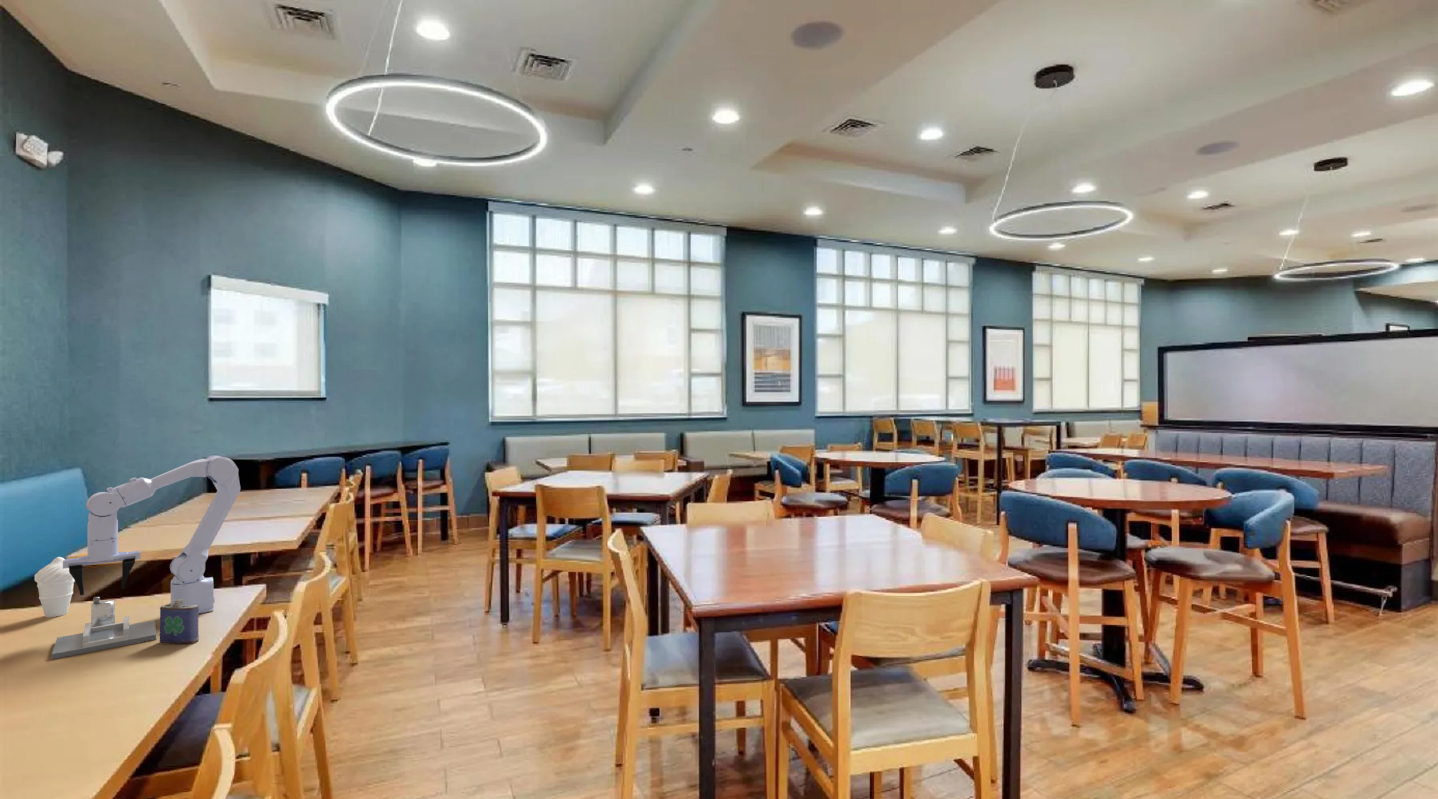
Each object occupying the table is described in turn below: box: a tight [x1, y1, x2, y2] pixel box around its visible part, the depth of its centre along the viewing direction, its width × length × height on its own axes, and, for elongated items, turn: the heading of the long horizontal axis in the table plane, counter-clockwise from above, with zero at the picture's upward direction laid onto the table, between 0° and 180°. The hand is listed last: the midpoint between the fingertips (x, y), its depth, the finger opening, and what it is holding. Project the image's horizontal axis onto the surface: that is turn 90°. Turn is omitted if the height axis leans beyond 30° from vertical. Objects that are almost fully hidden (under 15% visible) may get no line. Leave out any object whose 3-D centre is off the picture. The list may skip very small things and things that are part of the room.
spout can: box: [90, 596, 116, 628], centre depth 166 cm, size 4×4×8 cm
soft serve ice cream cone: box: [34, 556, 76, 618], centre depth 177 cm, size 8×8×16 cm
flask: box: [159, 598, 200, 645], centre depth 157 cm, size 9×3×11 cm, turn 88°
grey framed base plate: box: [51, 616, 157, 660], centre depth 158 cm, size 18×14×4 cm
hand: (102, 591), depth 166 cm, fingers open, 7 cm apart
